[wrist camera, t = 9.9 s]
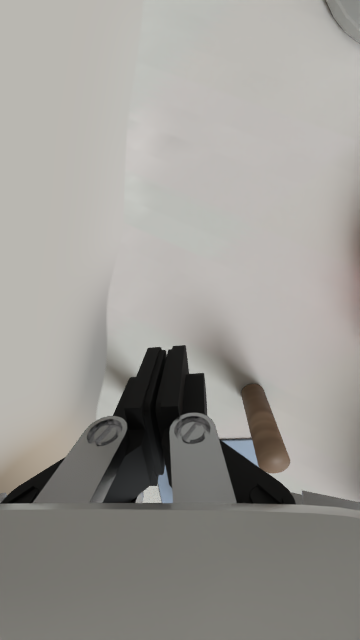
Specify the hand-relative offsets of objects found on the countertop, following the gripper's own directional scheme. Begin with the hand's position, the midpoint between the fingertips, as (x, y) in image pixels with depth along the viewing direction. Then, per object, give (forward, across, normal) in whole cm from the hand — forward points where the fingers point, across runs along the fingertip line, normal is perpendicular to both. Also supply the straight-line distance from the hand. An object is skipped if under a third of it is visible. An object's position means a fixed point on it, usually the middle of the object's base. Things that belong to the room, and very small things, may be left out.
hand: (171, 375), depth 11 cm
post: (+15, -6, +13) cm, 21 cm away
